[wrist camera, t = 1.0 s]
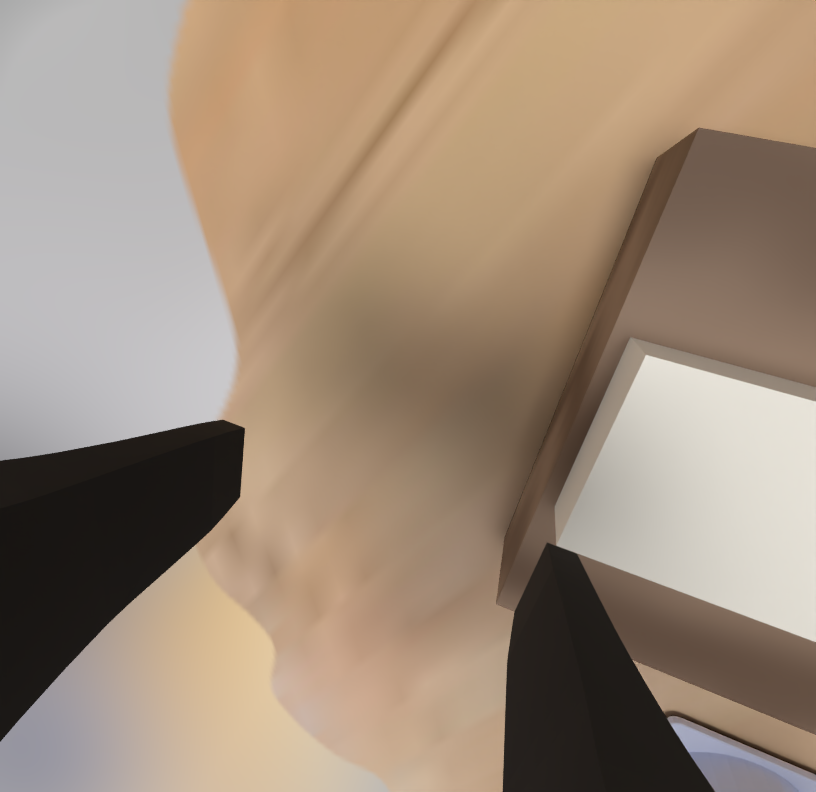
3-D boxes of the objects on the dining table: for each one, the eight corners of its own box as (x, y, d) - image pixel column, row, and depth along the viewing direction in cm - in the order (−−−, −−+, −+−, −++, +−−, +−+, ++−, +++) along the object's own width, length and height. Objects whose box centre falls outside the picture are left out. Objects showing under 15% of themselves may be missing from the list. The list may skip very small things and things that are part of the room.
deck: (785, 643, 18) (847, 747, 14) (504, 537, 20) (495, 604, 16) (1130, 247, 11) (1409, 252, 8) (657, 158, 13) (698, 127, 10)
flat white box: (859, 614, 12) (912, 678, 11) (554, 506, 14) (556, 545, 12) (1020, 442, 10) (1124, 487, 8) (630, 337, 12) (645, 354, 10)
